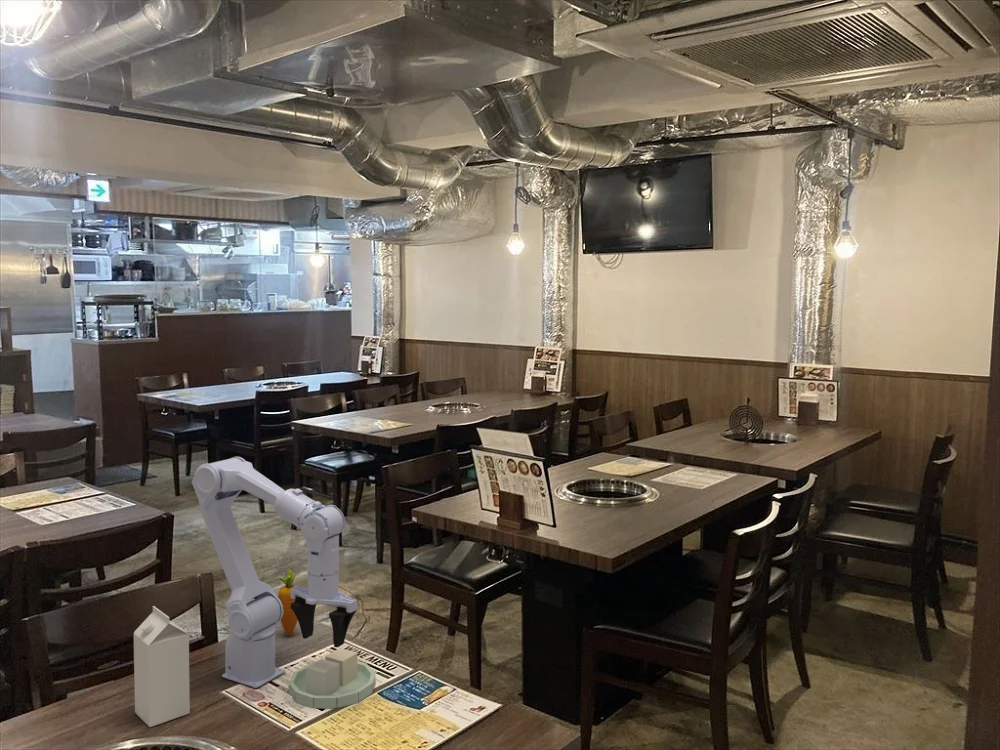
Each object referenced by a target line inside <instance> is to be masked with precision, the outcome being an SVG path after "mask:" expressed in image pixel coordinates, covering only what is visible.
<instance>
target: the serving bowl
mask: <svg viewBox="0 0 1000 750" xmlns="http://www.w3.org/2000/svg"><path fill="white" fill-rule="evenodd" d="M315 662H316V661H315ZM315 662H311V663H307V664H306V665H304V666H302V667H301V668H299V669H297V670H296V671H294V672H292V675H291V677H290V679H289V680H288V694H289V696H290V697H291V696H292V697H291V698H292V699H293V701H294V702H295V703H296V702H297V703H296V704H299V703H300V704H299V705H302V706H306V707H308V708H312V709H313V708H314V709H339V708H343V707H347V706H351V705H354V704H358V703H360V702H362V701H363V700H364V699H366V698H367V697H369V696H371V695H372V694H373V692H374V689H375V684H376V672H375V671H374V669H372V668H371V666H370V665H368V664H367V663H365V662H361V661H358V660H357V678H355V679H353V680H352V681H350V682H349V683H347V684H346V685H344V686H340V685H339V689H338V690H337V691H335V692H334V693H332V694H330V695H329V696H315V695H312V694H308V693H306V667H308V666H310V665H311V664H313V663H315Z"/></svg>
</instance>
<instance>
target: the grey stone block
mask: <svg viewBox="0 0 1000 750" xmlns="http://www.w3.org/2000/svg"><path fill="white" fill-rule="evenodd" d="M312 663H313V664H311V665H310V666H308V667H306V693H308V694H312V695H315V696H329V695H330V694H332V693H334V692H335V691H337V690H338V689H339V664H338V663H335V662H331V661H328V660H325V658H320V659H318V660H317V661H315V663H314V662H312Z"/></svg>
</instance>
